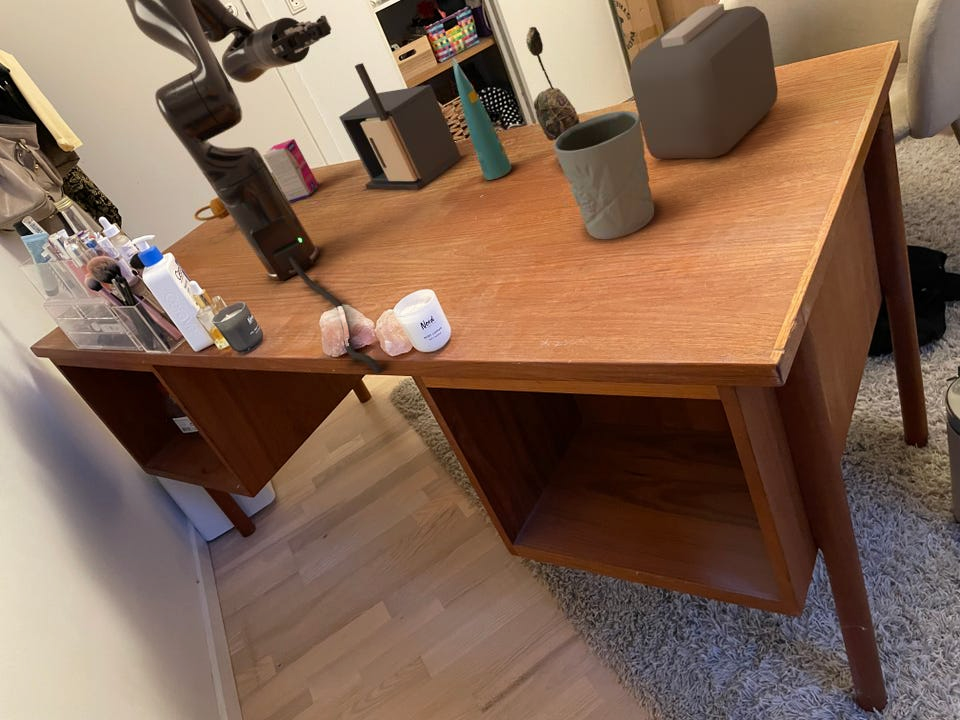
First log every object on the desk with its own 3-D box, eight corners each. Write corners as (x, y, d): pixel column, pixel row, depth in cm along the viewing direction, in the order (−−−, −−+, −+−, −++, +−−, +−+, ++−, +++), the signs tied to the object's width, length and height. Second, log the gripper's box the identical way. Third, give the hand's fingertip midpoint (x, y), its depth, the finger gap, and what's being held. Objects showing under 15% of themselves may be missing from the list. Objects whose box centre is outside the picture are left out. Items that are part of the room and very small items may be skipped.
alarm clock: (713, 110, 101) (691, 1, 93) (788, 105, 93) (771, -16, 85) (652, 166, 94) (622, 53, 86) (727, 165, 86) (702, 41, 78)
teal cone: (516, 173, 112) (472, 56, 102) (490, 185, 113) (443, 71, 102) (506, 161, 119) (463, 51, 108) (480, 173, 119) (435, 64, 109)
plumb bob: (283, 188, 167) (194, 233, 153) (271, 152, 161) (178, 195, 147) (305, 195, 162) (216, 242, 148) (294, 158, 156) (200, 204, 142)
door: (413, 181, 125) (358, 65, 113) (388, 181, 131) (333, 71, 120) (417, 179, 125) (362, 62, 114) (391, 179, 132) (337, 68, 120)
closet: (418, 190, 125) (383, 115, 117) (366, 188, 138) (332, 121, 130) (461, 158, 130) (430, 84, 122) (407, 159, 143) (376, 93, 135)
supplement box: (310, 196, 150) (283, 148, 144) (289, 203, 152) (261, 156, 146) (320, 184, 154) (294, 137, 148) (299, 192, 156) (272, 145, 150)
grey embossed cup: (567, 240, 87) (536, 153, 80) (610, 198, 92) (584, 113, 85) (635, 244, 80) (606, 148, 73) (678, 198, 84) (655, 105, 78)
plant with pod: (539, 179, 106) (493, 51, 96) (571, 145, 113) (531, 21, 102) (585, 174, 101) (541, 37, 91) (615, 138, 108) (578, 6, 97)
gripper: (240, 38, 122) (282, 21, 109) (297, 8, 128) (343, -11, 115) (263, 79, 126) (306, 68, 113) (317, 48, 132) (364, 34, 119)
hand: (325, 28), depth 114 cm, fingers closed
